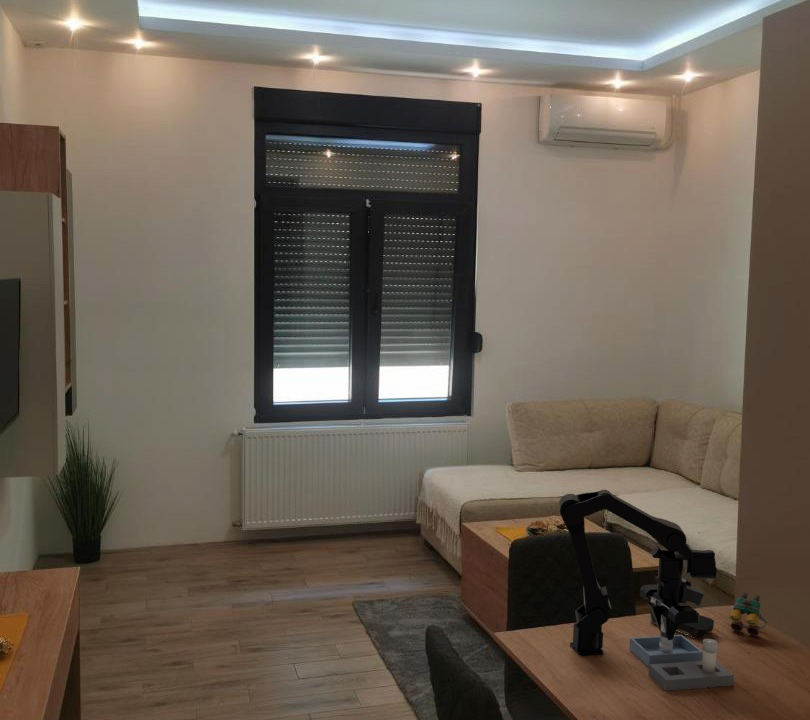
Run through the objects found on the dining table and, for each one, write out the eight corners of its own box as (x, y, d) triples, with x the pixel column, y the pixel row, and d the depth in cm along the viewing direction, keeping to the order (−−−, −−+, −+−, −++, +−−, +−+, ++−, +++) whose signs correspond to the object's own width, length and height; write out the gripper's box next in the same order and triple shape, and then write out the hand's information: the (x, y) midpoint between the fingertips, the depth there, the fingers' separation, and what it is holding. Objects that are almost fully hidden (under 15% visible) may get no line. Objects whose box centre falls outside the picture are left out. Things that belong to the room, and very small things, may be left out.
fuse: (705, 682, 197) (707, 644, 196) (698, 676, 200) (700, 639, 199) (717, 681, 197) (720, 644, 196) (710, 675, 200) (712, 638, 200)
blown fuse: (663, 653, 208) (665, 618, 207) (656, 648, 211) (658, 613, 210) (675, 653, 208) (677, 617, 208) (668, 647, 212) (670, 612, 211)
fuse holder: (665, 690, 192) (666, 680, 192) (648, 674, 200) (649, 664, 199) (733, 685, 195) (733, 675, 195) (713, 669, 203) (714, 659, 203)
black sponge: (716, 633, 225) (717, 620, 225) (701, 642, 220) (702, 628, 219) (661, 615, 237) (662, 602, 237) (645, 623, 231) (645, 610, 231)
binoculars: (727, 635, 229) (723, 611, 224) (735, 608, 235) (732, 584, 230) (763, 644, 224) (761, 620, 219) (771, 617, 230) (769, 592, 225)
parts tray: (648, 667, 203) (649, 655, 203) (629, 649, 213) (629, 637, 213) (702, 663, 206) (703, 651, 206) (680, 646, 216) (681, 634, 216)
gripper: (721, 587, 200) (717, 651, 202) (680, 561, 219) (676, 620, 220) (678, 589, 198) (674, 654, 200) (640, 563, 216) (637, 622, 218)
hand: (666, 636), depth 209 cm, fingers closed on blown fuse, 3 cm apart
